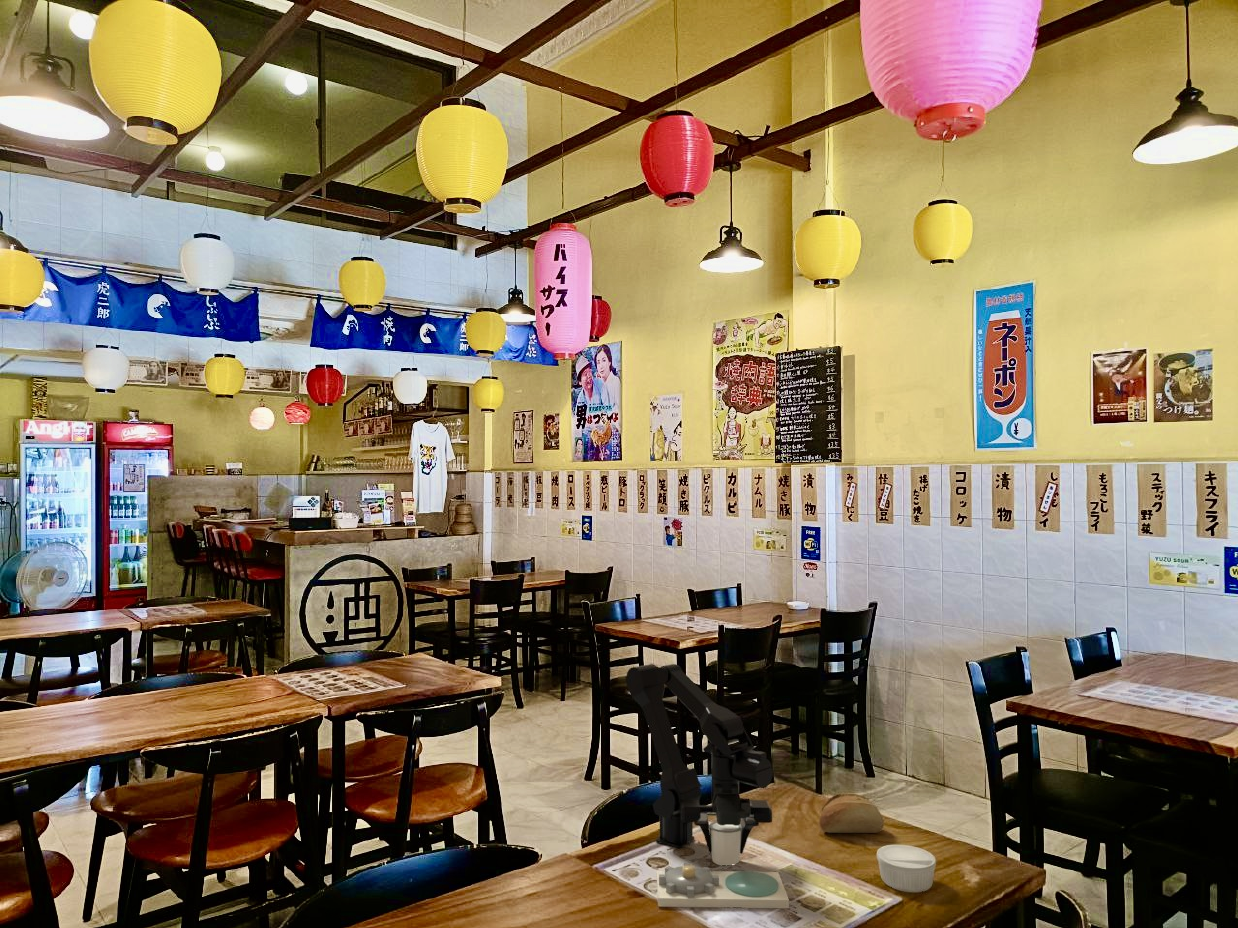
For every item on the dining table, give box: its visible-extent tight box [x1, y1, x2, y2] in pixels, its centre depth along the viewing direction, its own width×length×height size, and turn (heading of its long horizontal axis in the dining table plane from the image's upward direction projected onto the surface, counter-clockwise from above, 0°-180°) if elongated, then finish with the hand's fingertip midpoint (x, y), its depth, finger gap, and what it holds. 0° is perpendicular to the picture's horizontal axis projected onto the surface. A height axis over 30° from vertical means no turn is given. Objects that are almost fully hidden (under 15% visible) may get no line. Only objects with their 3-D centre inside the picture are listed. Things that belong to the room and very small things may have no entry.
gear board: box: [656, 863, 790, 909], centre depth 159 cm, size 24×12×4 cm, turn 89°
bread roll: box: [819, 792, 885, 834], centre depth 190 cm, size 10×15×8 cm, turn 98°
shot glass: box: [709, 820, 742, 867], centre depth 174 cm, size 7×7×7 cm
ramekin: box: [876, 844, 937, 893], centre depth 164 cm, size 11×11×5 cm
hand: (725, 852), depth 174 cm, fingers closed on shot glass, 6 cm apart
